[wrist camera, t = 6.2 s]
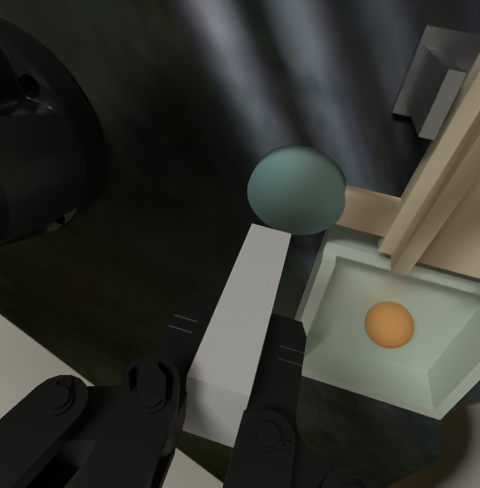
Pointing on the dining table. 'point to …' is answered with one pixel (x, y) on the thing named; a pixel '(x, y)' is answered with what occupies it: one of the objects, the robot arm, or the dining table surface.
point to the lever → (385, 206)
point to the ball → (389, 324)
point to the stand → (435, 77)
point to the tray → (379, 358)
